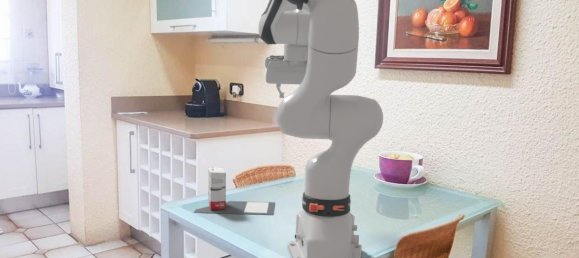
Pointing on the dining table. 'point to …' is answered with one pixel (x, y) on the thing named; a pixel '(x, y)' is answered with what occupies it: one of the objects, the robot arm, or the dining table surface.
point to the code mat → (242, 208)
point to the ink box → (216, 188)
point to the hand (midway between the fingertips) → (296, 98)
